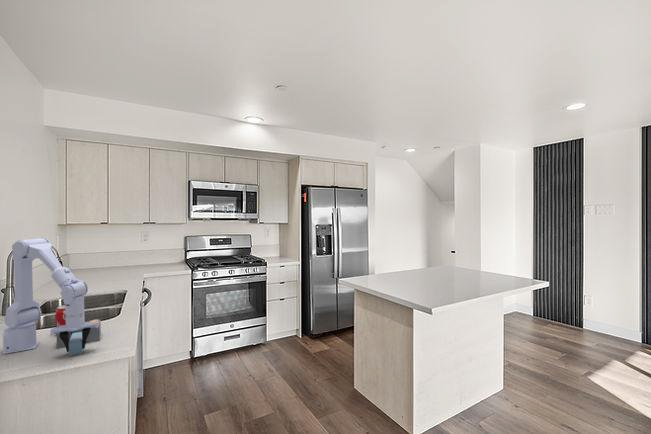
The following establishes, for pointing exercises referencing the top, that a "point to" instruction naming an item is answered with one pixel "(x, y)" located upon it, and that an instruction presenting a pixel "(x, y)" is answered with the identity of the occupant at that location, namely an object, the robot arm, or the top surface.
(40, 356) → the top surface
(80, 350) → the block
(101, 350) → the top surface
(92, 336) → the housing
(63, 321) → the soda can
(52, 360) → the top surface
